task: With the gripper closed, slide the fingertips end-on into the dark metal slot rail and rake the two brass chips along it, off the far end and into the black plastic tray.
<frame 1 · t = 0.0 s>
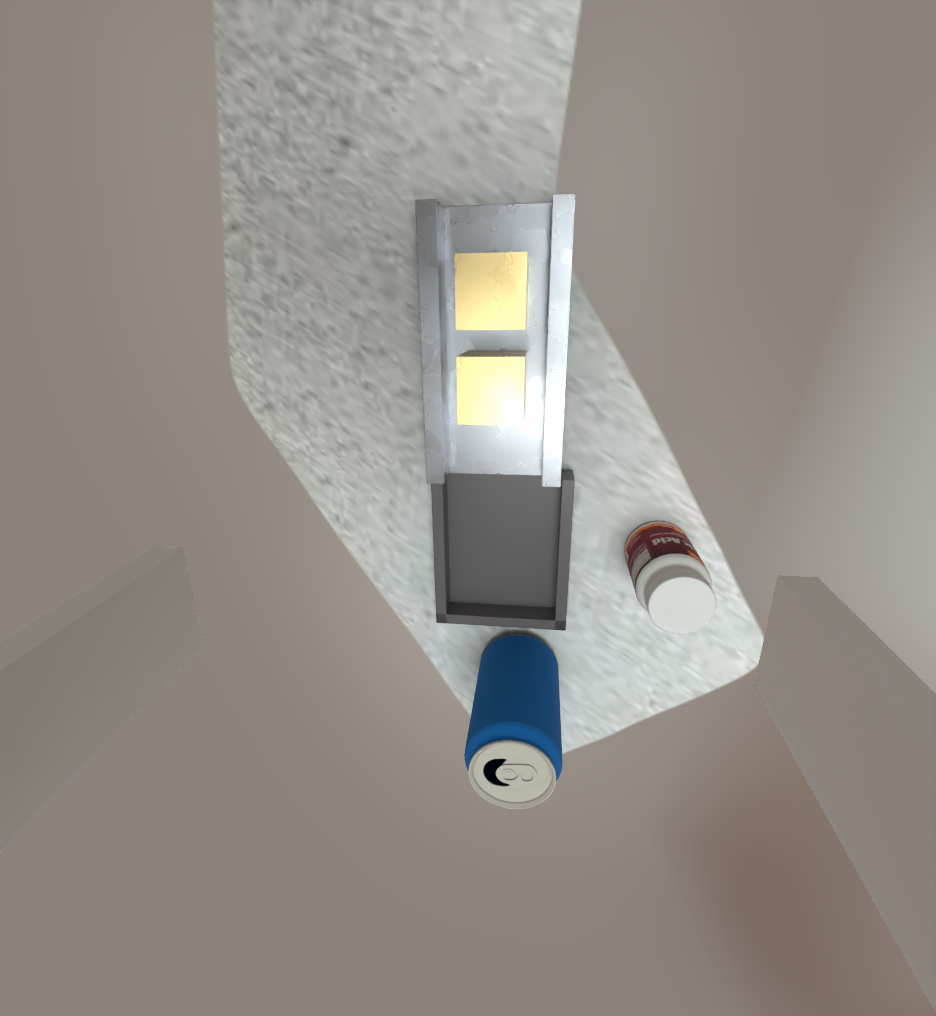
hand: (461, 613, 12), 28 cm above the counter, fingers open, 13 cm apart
pill bottle: (655, 547, 41), on the counter
tray: (503, 542, 42), on the counter
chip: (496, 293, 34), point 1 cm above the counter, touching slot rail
beverage can: (519, 660, 46), on the counter
slot rail: (498, 349, 37), on the counter
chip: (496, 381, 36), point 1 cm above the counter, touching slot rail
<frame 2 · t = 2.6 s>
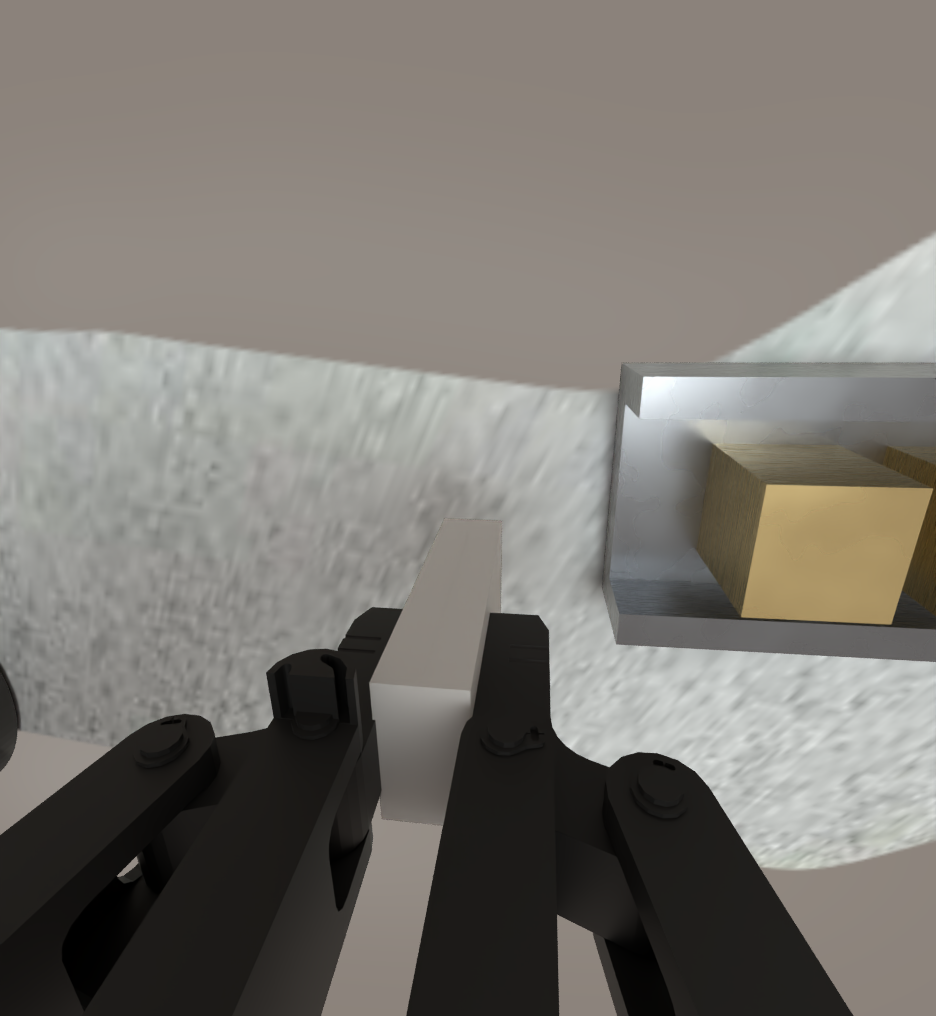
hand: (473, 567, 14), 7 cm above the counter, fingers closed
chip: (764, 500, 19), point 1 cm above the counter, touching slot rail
slot rail: (848, 489, 20), on the counter
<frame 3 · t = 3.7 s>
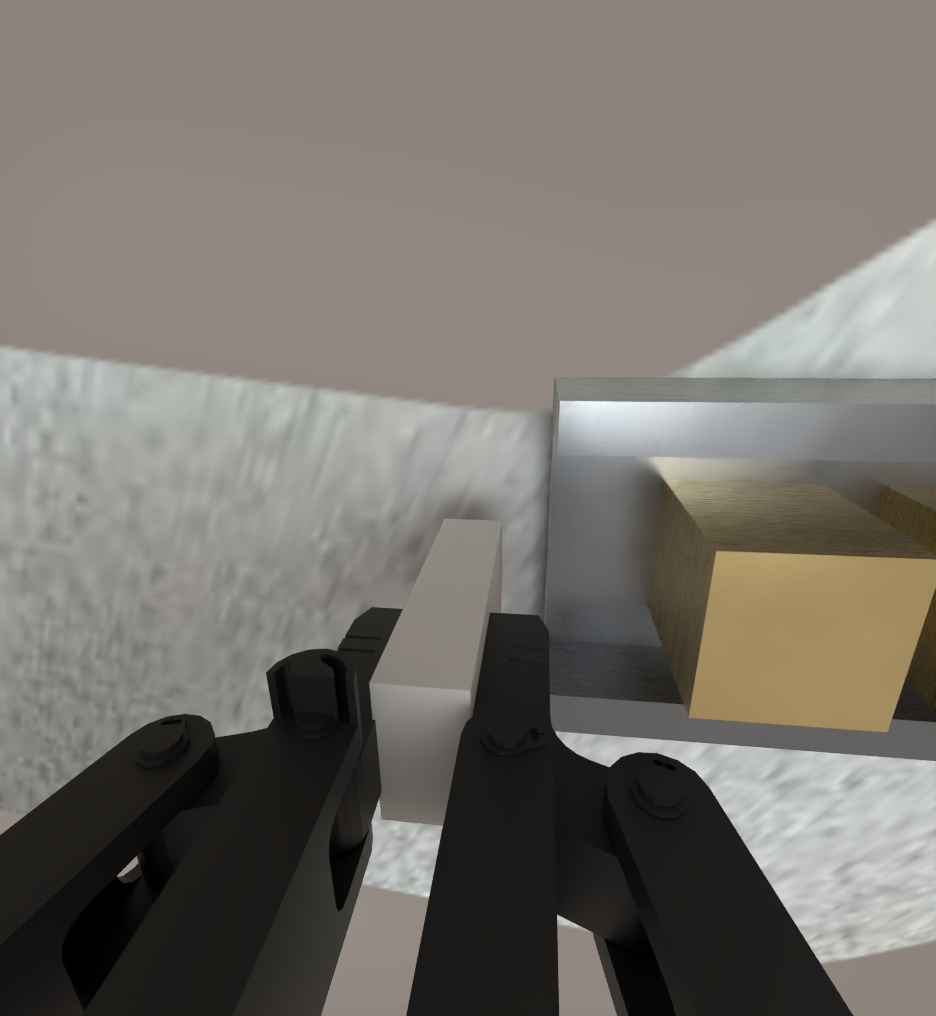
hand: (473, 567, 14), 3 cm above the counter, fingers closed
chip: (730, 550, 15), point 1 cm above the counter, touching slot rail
slot rail: (837, 533, 16), on the counter
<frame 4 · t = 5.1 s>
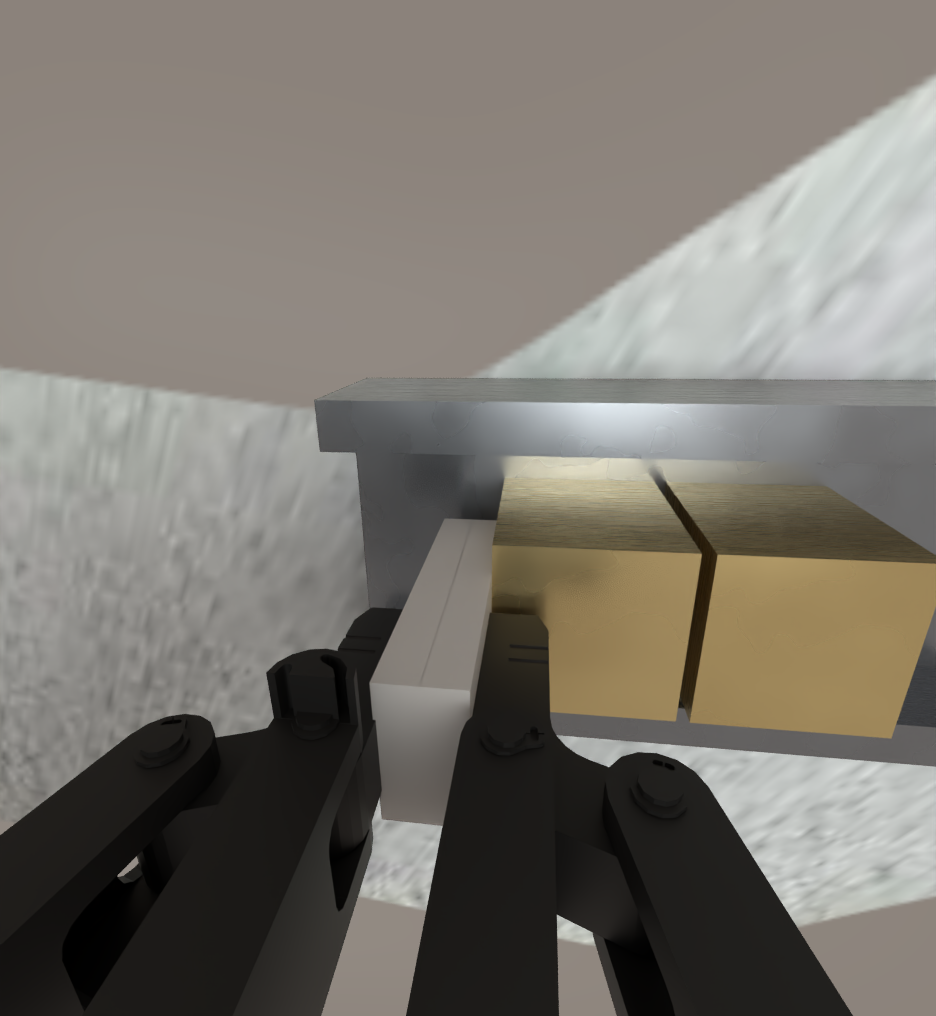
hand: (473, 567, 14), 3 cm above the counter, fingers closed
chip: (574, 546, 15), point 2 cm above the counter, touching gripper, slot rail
slot rail: (647, 529, 16), on the counter
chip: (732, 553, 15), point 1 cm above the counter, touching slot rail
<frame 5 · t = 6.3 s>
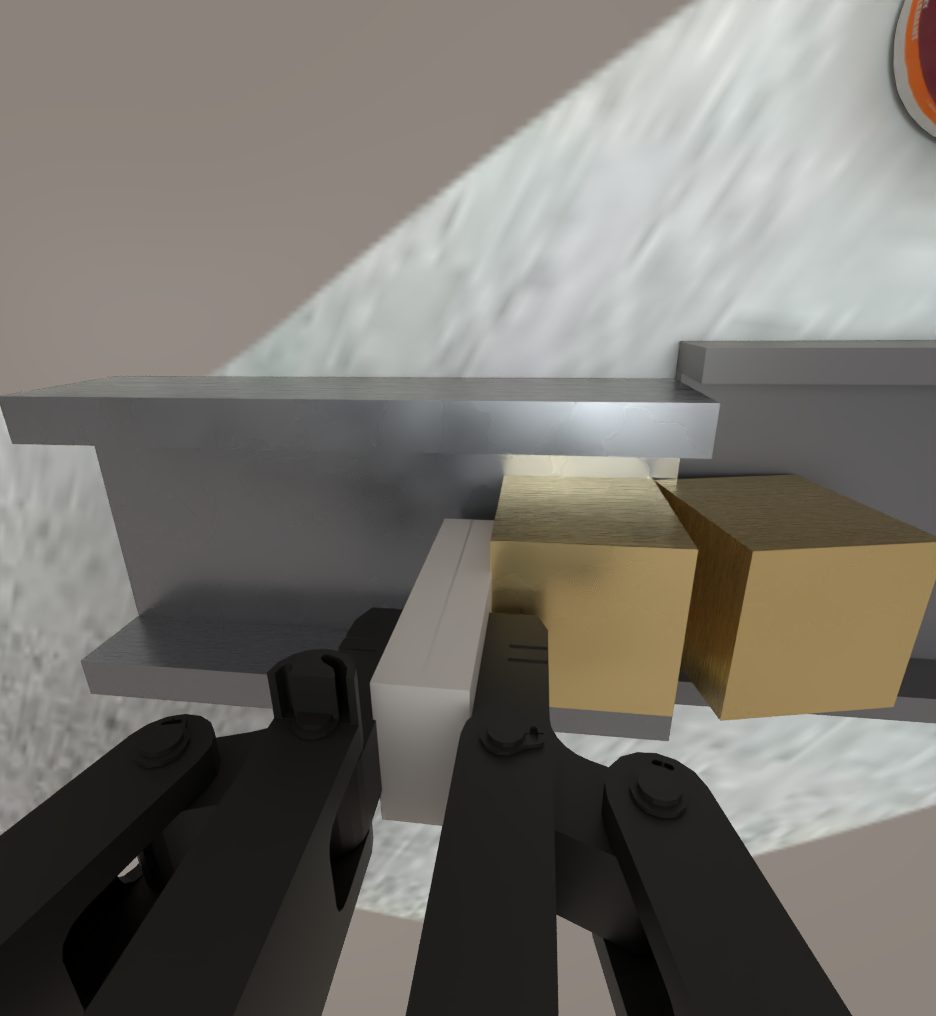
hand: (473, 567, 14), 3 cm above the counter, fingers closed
tray: (872, 520, 16), on the counter
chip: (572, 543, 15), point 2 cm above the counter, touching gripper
slot rail: (387, 518, 18), on the counter
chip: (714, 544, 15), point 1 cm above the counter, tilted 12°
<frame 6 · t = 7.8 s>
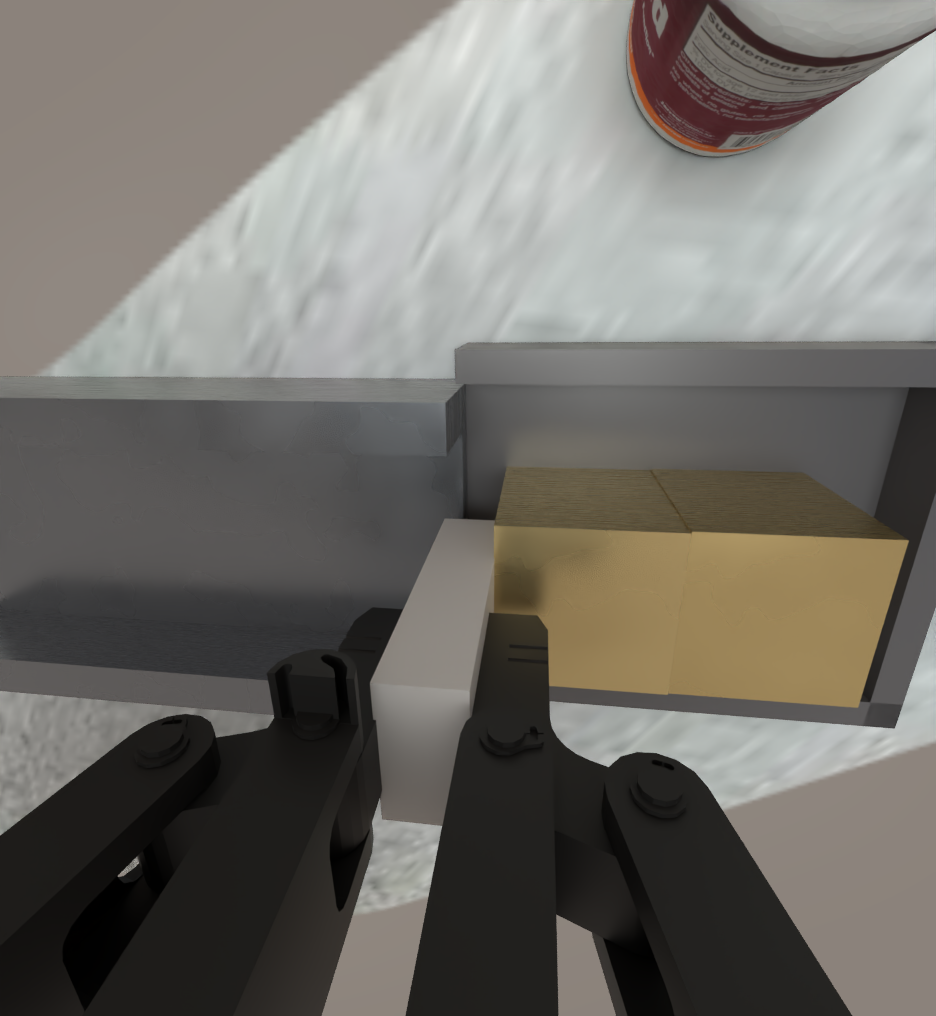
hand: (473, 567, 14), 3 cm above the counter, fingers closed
pill bottle: (728, 42, 12), on the counter
tray: (669, 517, 16), on the counter
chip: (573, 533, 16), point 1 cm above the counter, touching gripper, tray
slot rail: (218, 514, 18), on the counter
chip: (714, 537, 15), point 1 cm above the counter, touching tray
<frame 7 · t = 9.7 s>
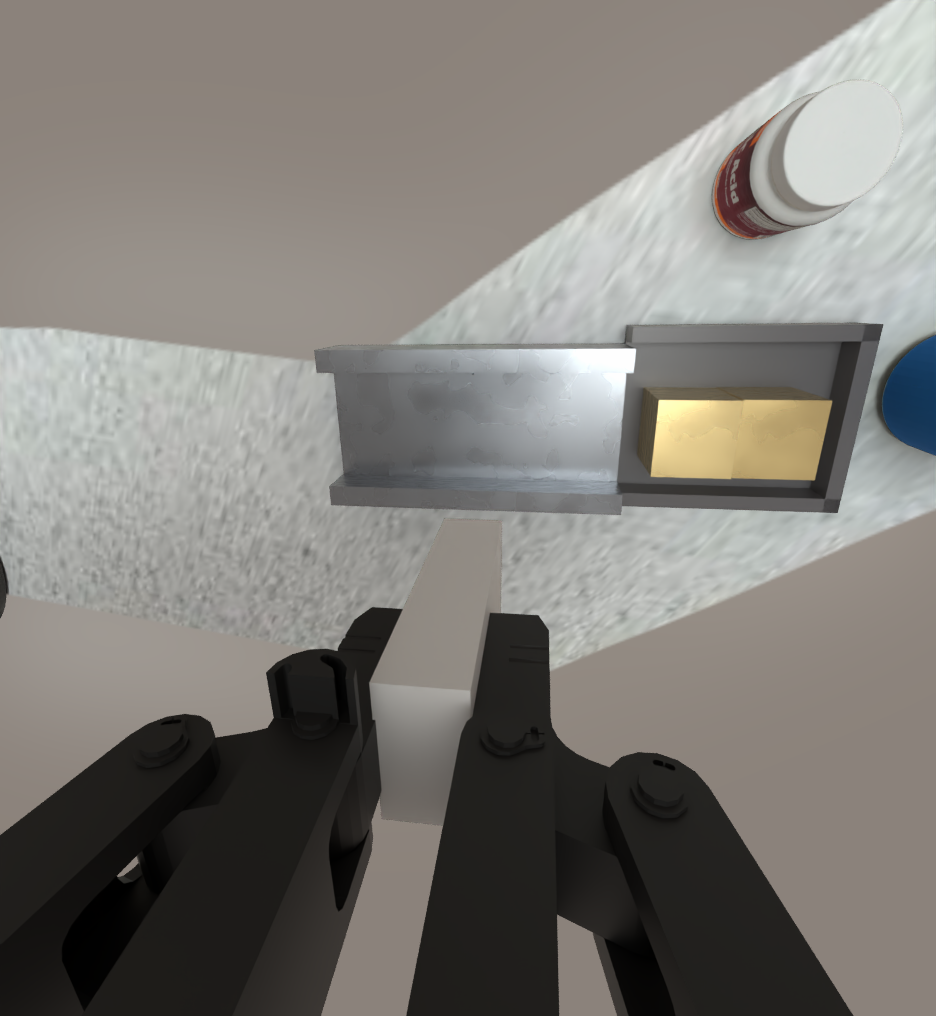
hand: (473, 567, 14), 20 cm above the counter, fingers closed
pill bottle: (757, 190, 28), on the counter
tray: (724, 414, 32), on the counter
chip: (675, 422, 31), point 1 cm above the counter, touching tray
slot rail: (478, 419, 34), on the counter
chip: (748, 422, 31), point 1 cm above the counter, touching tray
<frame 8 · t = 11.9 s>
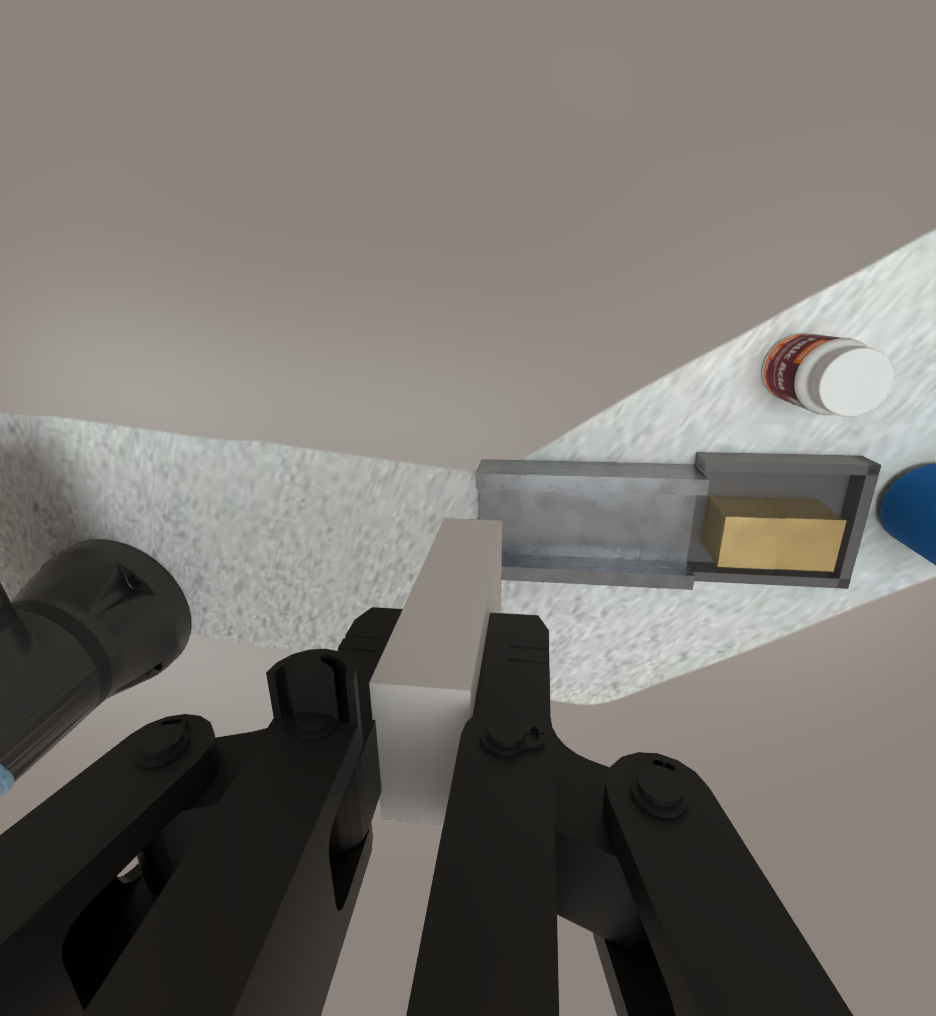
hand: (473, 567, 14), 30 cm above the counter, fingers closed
pill bottle: (793, 367, 39), on the counter
tray: (765, 514, 43), on the counter
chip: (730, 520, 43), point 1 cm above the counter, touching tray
beverage can: (919, 500, 42), on the counter
slot rail: (582, 513, 45), on the counter
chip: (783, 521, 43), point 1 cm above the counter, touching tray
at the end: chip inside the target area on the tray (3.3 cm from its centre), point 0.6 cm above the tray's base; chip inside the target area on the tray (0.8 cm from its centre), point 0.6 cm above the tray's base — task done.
